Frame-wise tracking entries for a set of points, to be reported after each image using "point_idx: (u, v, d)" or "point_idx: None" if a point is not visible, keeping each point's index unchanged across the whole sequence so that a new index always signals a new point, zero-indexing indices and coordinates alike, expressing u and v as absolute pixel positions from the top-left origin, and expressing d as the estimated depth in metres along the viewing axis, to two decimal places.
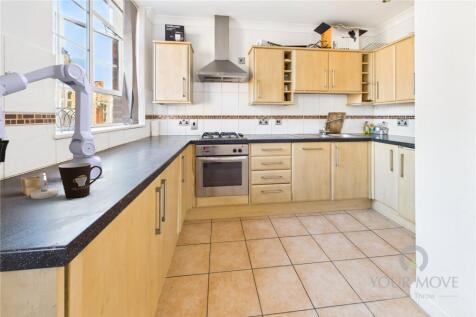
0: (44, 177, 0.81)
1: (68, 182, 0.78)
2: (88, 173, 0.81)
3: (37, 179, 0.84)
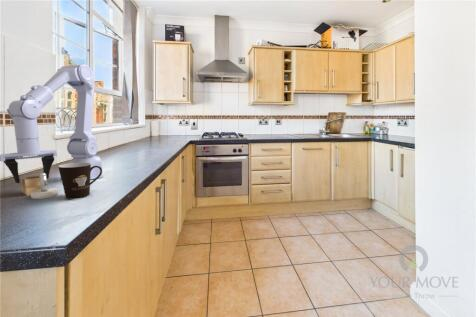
0: (44, 177, 0.81)
1: (68, 182, 0.78)
2: (88, 173, 0.81)
3: (37, 179, 0.84)
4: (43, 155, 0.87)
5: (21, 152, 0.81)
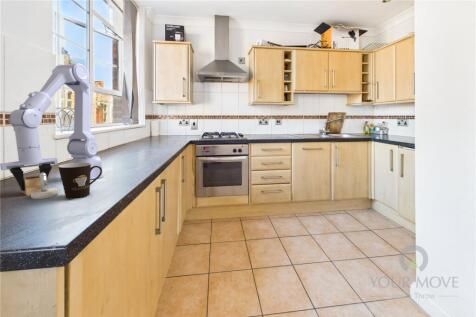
0: (44, 177, 0.81)
1: (68, 182, 0.78)
2: (88, 173, 0.81)
3: (37, 179, 0.84)
4: (44, 163, 0.87)
5: (22, 161, 0.81)
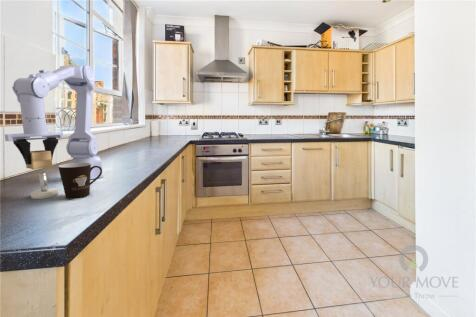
0: (44, 177, 0.81)
1: (68, 182, 0.78)
2: (88, 173, 0.81)
3: (44, 152, 0.80)
4: (50, 137, 0.83)
5: (29, 132, 0.77)
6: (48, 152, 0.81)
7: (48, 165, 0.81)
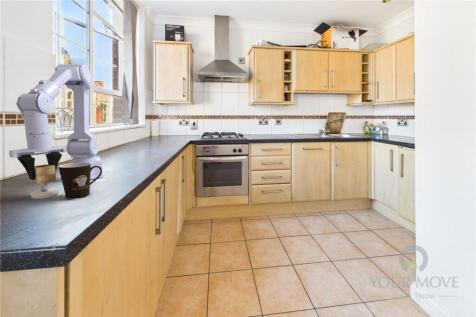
0: None
1: (68, 182, 0.78)
2: (88, 173, 0.81)
3: (48, 167, 0.80)
4: (53, 151, 0.83)
5: (33, 148, 0.77)
6: (52, 167, 0.81)
7: (52, 179, 0.82)
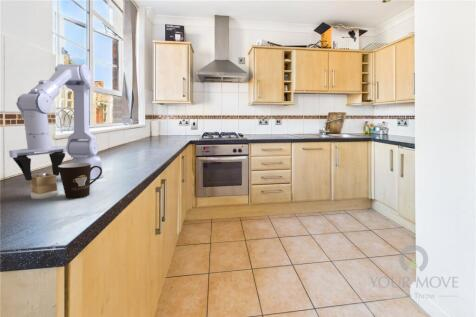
0: None
1: (68, 182, 0.78)
2: (88, 173, 0.81)
3: (49, 177, 0.81)
4: (53, 151, 0.83)
5: (33, 148, 0.77)
6: (53, 176, 0.82)
7: (53, 189, 0.82)
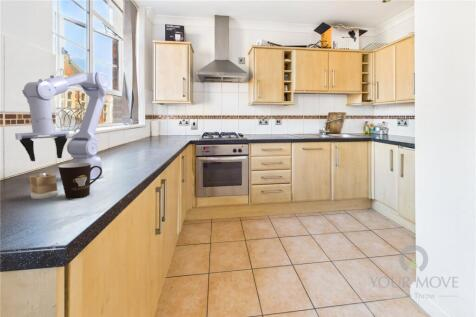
0: None
1: (68, 182, 0.78)
2: (88, 173, 0.81)
3: (49, 177, 0.81)
4: (56, 135, 0.90)
5: (36, 131, 0.84)
6: (53, 176, 0.82)
7: (53, 189, 0.82)
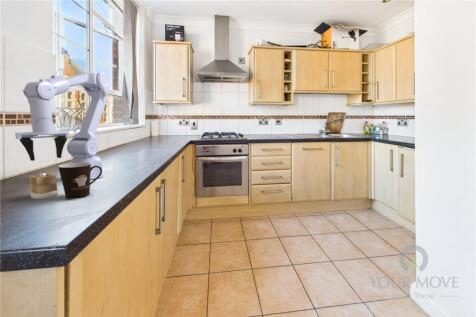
0: None
1: (68, 182, 0.78)
2: (88, 173, 0.81)
3: (49, 177, 0.81)
4: (56, 135, 0.91)
5: (36, 131, 0.85)
6: (53, 176, 0.82)
7: (53, 189, 0.82)
